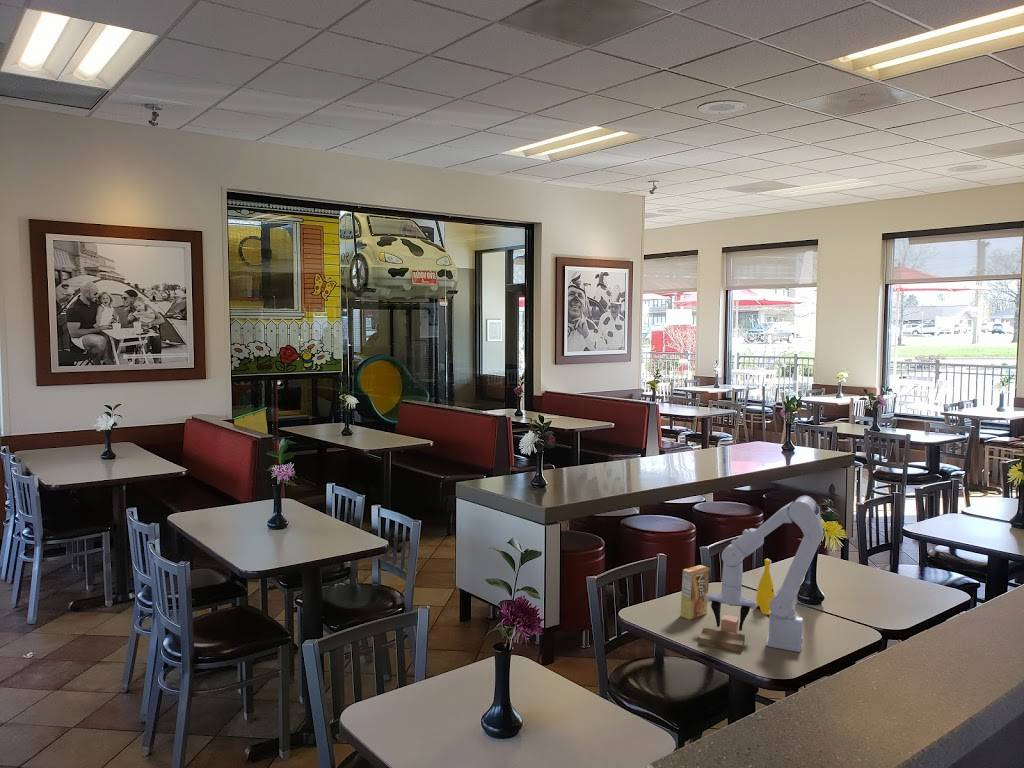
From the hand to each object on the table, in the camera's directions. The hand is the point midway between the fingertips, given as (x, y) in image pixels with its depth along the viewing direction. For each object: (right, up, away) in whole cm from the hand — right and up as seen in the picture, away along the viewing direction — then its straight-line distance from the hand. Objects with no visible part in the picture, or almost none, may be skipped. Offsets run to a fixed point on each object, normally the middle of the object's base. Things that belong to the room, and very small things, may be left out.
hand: (729, 627), depth 233 cm
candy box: (-8, 0, +13) cm, 15 cm away
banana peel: (+15, 0, +22) cm, 27 cm away
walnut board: (-4, -2, -8) cm, 9 cm away
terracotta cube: (0, -2, 0) cm, 2 cm away
